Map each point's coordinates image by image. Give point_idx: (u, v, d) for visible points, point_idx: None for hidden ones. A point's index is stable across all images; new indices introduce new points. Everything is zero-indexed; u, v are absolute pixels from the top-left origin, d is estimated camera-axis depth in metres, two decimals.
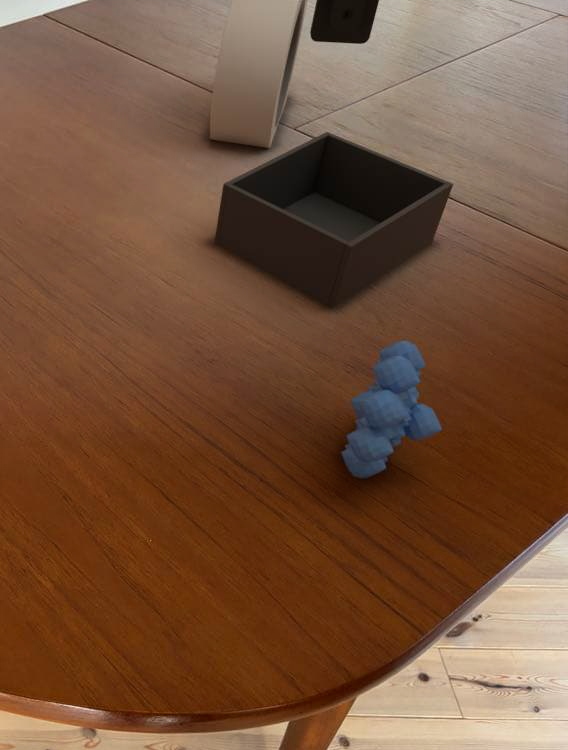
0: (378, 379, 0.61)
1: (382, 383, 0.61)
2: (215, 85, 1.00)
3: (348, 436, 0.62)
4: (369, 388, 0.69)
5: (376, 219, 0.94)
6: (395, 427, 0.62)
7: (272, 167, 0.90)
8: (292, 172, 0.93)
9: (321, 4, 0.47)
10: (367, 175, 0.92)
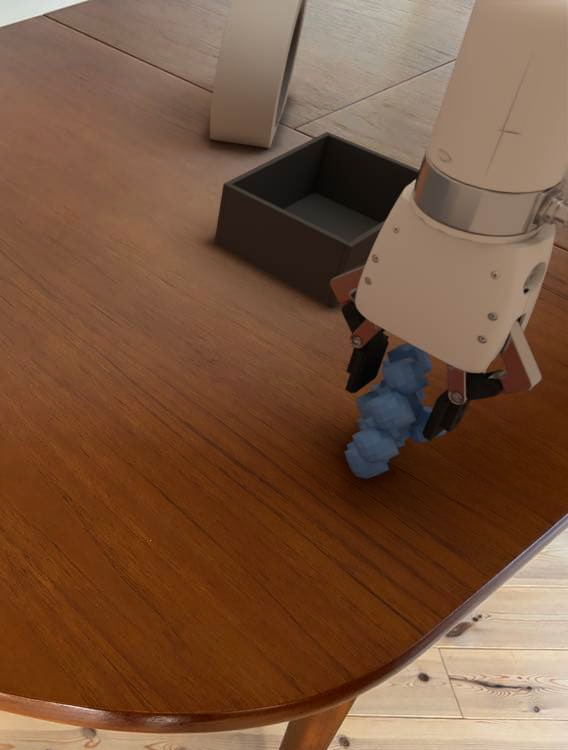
0: (387, 380, 0.61)
1: (391, 384, 0.60)
2: (215, 85, 1.00)
3: (354, 436, 0.62)
4: (373, 388, 0.69)
5: (376, 219, 0.94)
6: (401, 429, 0.62)
7: (272, 167, 0.90)
8: (292, 172, 0.93)
9: (439, 421, 0.60)
10: (367, 175, 0.92)
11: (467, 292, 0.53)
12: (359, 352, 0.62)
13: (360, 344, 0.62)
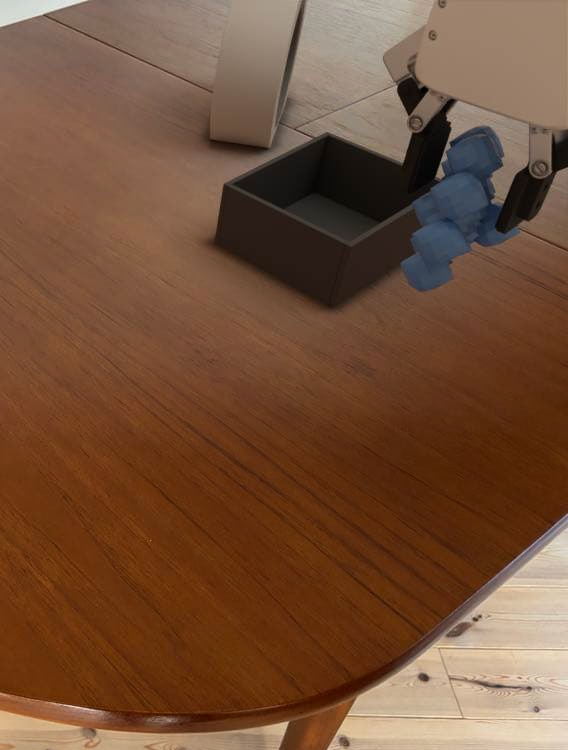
0: (453, 163, 0.52)
1: (459, 166, 0.52)
2: (215, 85, 1.00)
3: (414, 234, 0.53)
4: None
5: (376, 219, 0.94)
6: (468, 225, 0.54)
7: (272, 167, 0.90)
8: (292, 172, 0.93)
9: (516, 205, 0.51)
10: (367, 175, 0.92)
11: (560, 16, 0.44)
12: (419, 136, 0.54)
13: (419, 127, 0.54)
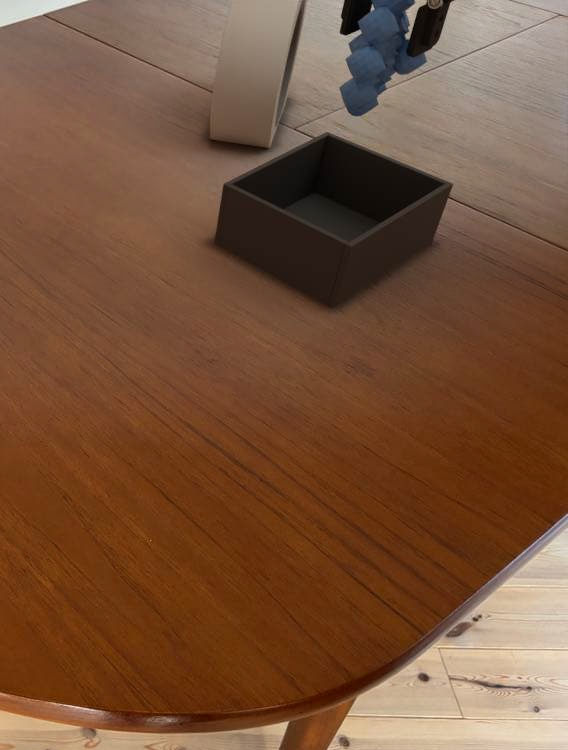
0: (375, 3, 0.71)
1: (378, 4, 0.70)
2: (215, 85, 1.00)
3: (347, 58, 0.72)
4: None
5: (376, 219, 0.94)
6: (387, 52, 0.72)
7: (272, 167, 0.90)
8: (292, 172, 0.93)
9: (420, 33, 0.70)
10: (367, 175, 0.92)
11: None
12: None
13: None
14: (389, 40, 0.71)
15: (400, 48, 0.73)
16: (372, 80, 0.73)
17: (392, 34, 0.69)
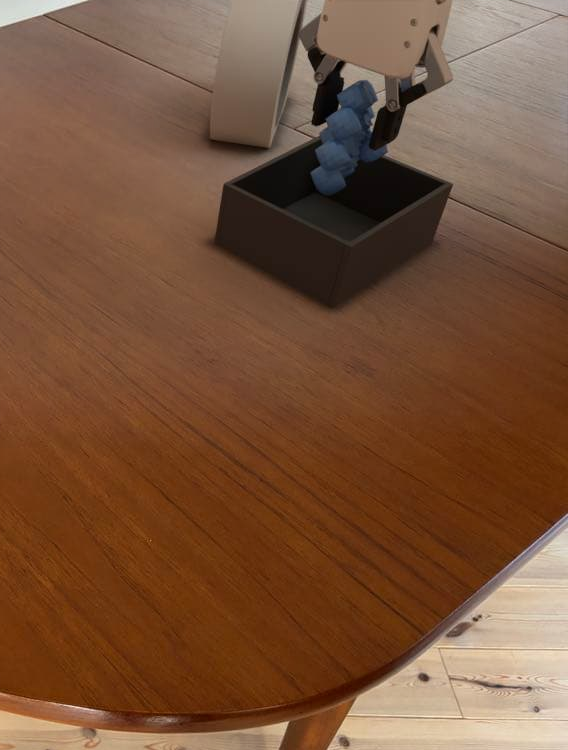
0: (341, 102, 0.79)
1: (344, 104, 0.79)
2: (215, 85, 1.00)
3: (316, 149, 0.81)
4: None
5: (376, 219, 0.94)
6: (352, 145, 0.81)
7: (272, 167, 0.90)
8: (292, 172, 0.93)
9: (380, 130, 0.79)
10: (367, 175, 0.92)
11: (395, 5, 0.71)
12: (321, 86, 0.81)
13: (321, 80, 0.81)
14: (353, 135, 0.80)
15: (364, 140, 0.81)
16: (339, 168, 0.82)
17: (355, 131, 0.78)
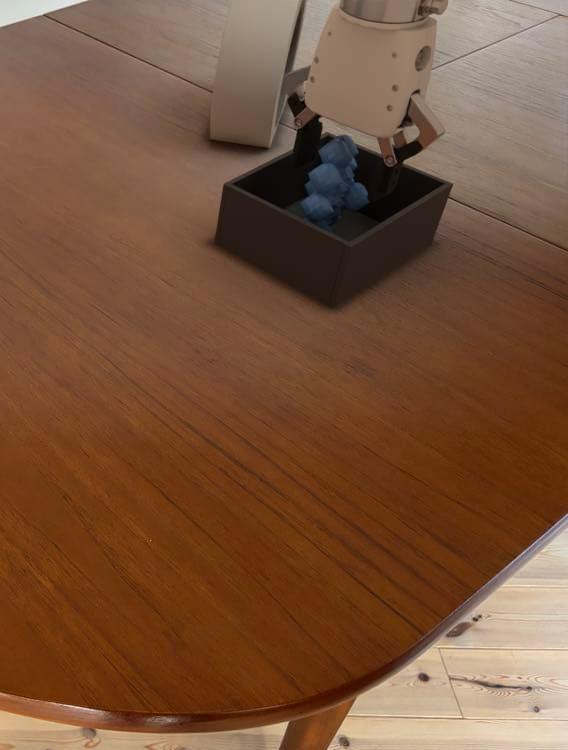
0: (322, 157, 0.83)
1: (325, 159, 0.83)
2: (215, 85, 1.00)
3: (301, 202, 0.85)
4: None
5: (376, 219, 0.94)
6: (335, 196, 0.85)
7: (272, 167, 0.90)
8: (292, 172, 0.93)
9: (378, 184, 0.81)
10: (367, 175, 0.92)
11: (378, 72, 0.75)
12: (300, 131, 0.85)
13: (301, 125, 0.85)
14: (336, 187, 0.84)
15: (347, 191, 0.85)
16: (324, 218, 0.86)
17: (337, 185, 0.82)
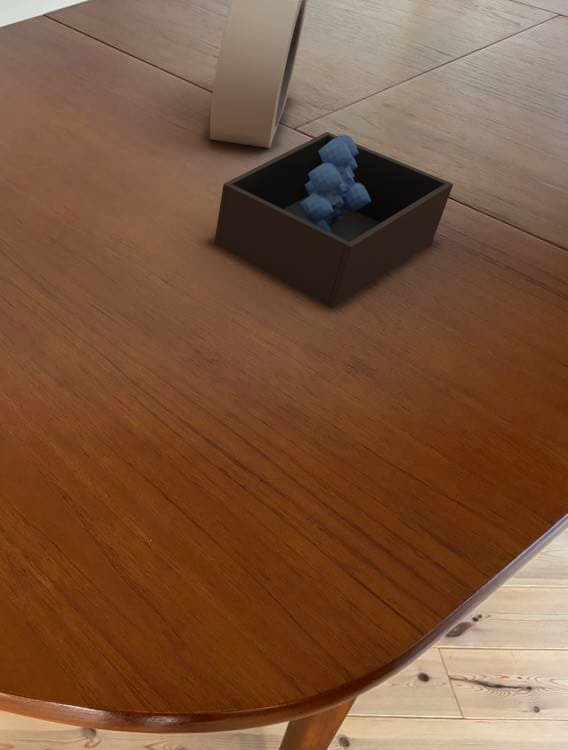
0: (322, 157, 0.83)
1: (325, 159, 0.83)
2: (215, 85, 1.00)
3: (301, 202, 0.85)
4: None
5: (376, 219, 0.94)
6: (335, 196, 0.85)
7: (272, 167, 0.90)
8: (292, 172, 0.93)
9: None
10: (367, 175, 0.92)
11: None
12: None
13: None
14: (336, 187, 0.84)
15: (347, 191, 0.85)
16: (324, 218, 0.86)
17: (337, 185, 0.82)
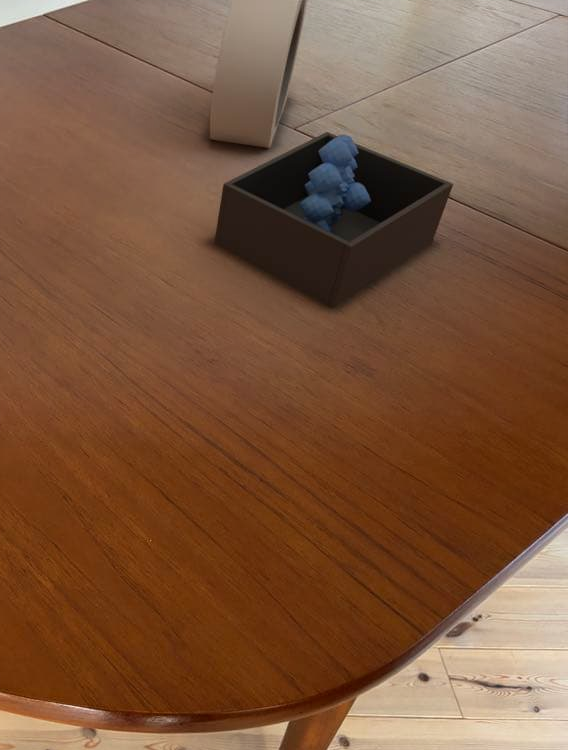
0: (322, 157, 0.83)
1: (325, 159, 0.83)
2: (215, 85, 1.00)
3: (301, 202, 0.85)
4: None
5: (376, 219, 0.94)
6: (335, 196, 0.85)
7: (272, 167, 0.90)
8: (292, 172, 0.93)
9: None
10: (367, 175, 0.92)
11: None
12: None
13: None
14: (336, 187, 0.84)
15: (347, 191, 0.85)
16: (324, 218, 0.86)
17: (337, 185, 0.82)
